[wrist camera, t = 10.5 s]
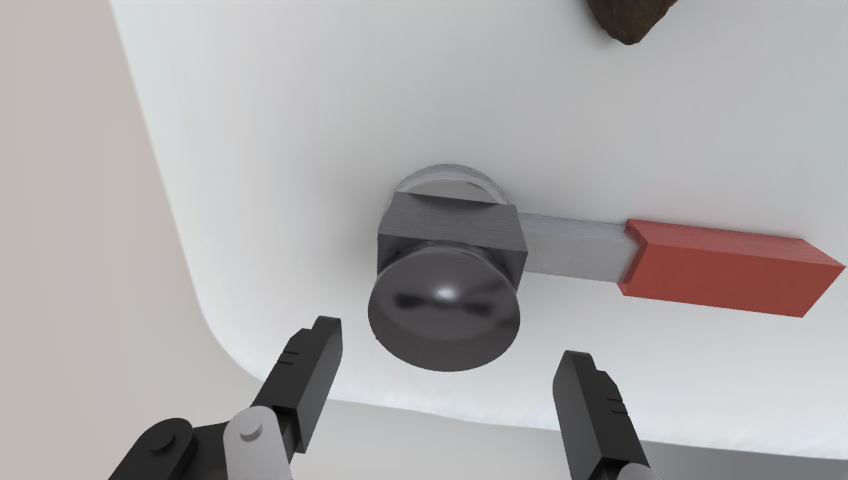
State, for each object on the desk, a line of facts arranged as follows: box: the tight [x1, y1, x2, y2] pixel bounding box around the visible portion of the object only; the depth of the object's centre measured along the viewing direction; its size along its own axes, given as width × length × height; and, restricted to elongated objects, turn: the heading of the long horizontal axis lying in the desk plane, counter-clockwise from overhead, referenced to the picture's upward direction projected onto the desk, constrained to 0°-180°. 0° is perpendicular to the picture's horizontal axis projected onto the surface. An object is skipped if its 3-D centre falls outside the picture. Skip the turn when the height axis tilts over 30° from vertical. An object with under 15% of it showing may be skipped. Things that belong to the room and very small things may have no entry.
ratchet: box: [377, 164, 846, 318], centre depth 17 cm, size 22×7×6 cm, turn 85°
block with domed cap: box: [368, 191, 528, 372], centre depth 16 cm, size 6×6×5 cm
